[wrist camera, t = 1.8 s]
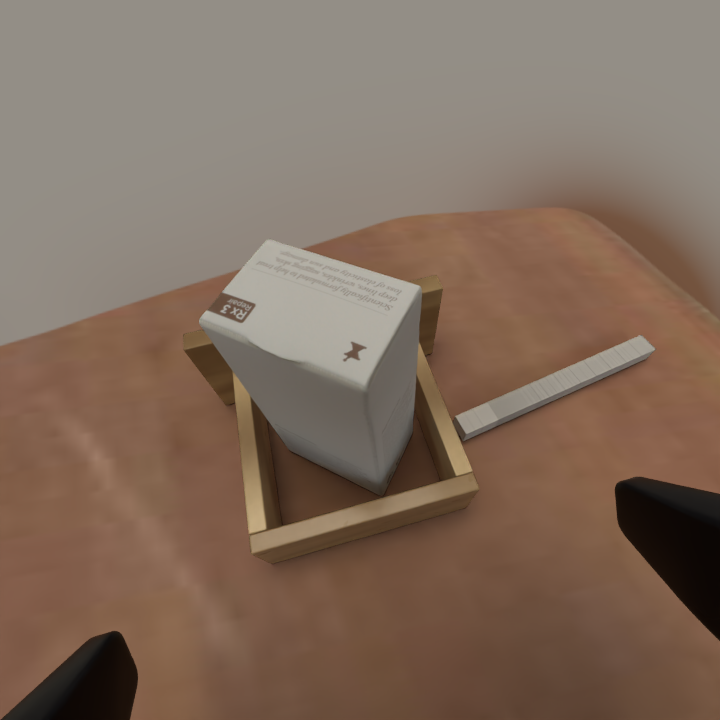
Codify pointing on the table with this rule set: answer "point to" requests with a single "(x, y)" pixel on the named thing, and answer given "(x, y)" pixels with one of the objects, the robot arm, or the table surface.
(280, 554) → the wooden tray frame
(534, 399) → the ruler
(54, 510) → the table surface
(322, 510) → the table surface
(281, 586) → the table surface
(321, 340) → the cosmetic box
